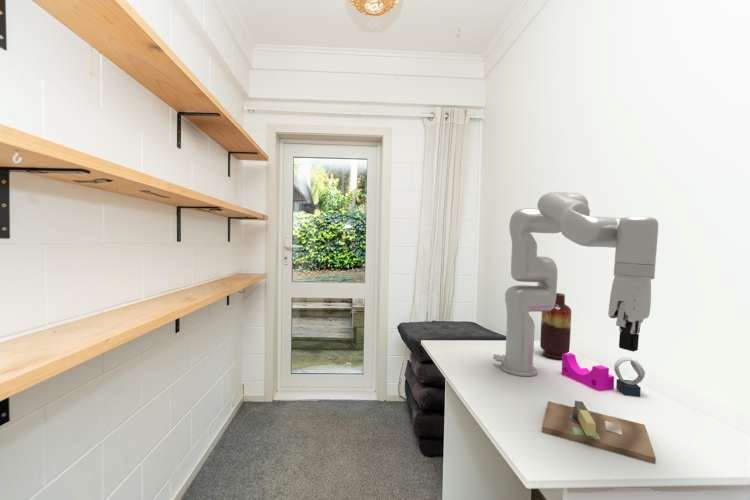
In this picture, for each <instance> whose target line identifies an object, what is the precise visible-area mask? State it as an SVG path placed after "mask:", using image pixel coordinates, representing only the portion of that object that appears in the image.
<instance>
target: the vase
mask: <svg viewBox="0 0 750 500" xmlns="http://www.w3.org/2000/svg"><path fill="white" fill-rule="evenodd" d="M540 320H541V323H540V338H539V339H540V344H539V346H540V349H542V350H543V351H542V355H543V356H545V357H548V358H552V359H558V360H562V354H566V353H570V344H571V327H572V325H571V324H572V309H571V307H570V306H568V305H567V304H566V295H565V294H564V293H561V292H560V293H559V292H556V302H555V306H554V308H553V309H552V310H550V311H545V312H541V319H540Z"/></svg>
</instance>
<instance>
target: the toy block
mask: <svg viewBox="0 0 750 500" xmlns="http://www.w3.org/2000/svg"><path fill="white" fill-rule="evenodd" d="M609 371H610V368H609V367H608V366H606V365H605V366H604V365H602V364H599V365H592V367H591V370H590V369H589V368H587V367H583V368H582V367H580V365H579V364H578V361H577V358H576V354H574V353H572V352H568V353H565V354H562V359H561V375H562V376H564V377H567V378H569V379H571V380H573V381H576V382H578V383H580V384H582V385H584V386H587V387H589V388H590V389H594V390H596V391H597V392H602V391H603V392H604V391H611V390H612V391H613V390H614V389H615V376H614V375H611V374H610V373H609Z"/></svg>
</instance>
